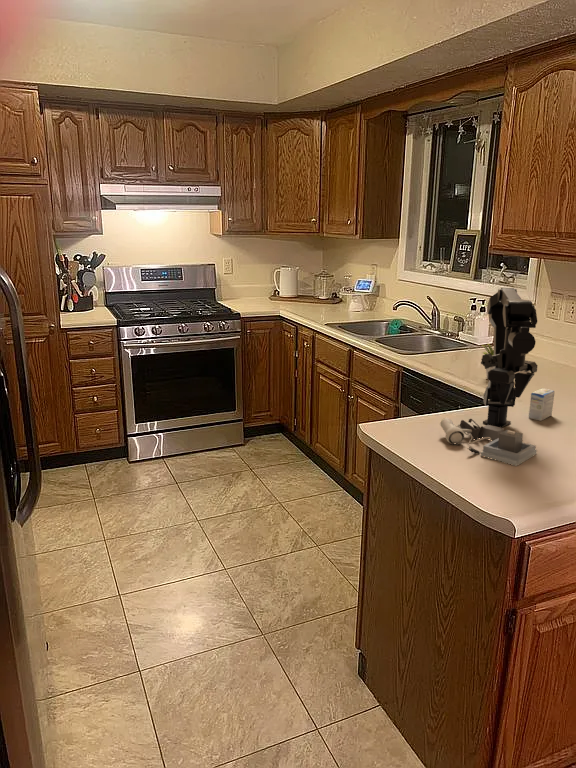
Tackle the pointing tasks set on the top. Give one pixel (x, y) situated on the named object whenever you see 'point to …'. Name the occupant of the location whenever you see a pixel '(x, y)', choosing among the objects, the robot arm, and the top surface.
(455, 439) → the clip-on lamp
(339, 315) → the top surface
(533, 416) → the medicine box
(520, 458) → the blue gray tray
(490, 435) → the cable plug
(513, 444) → the brick
